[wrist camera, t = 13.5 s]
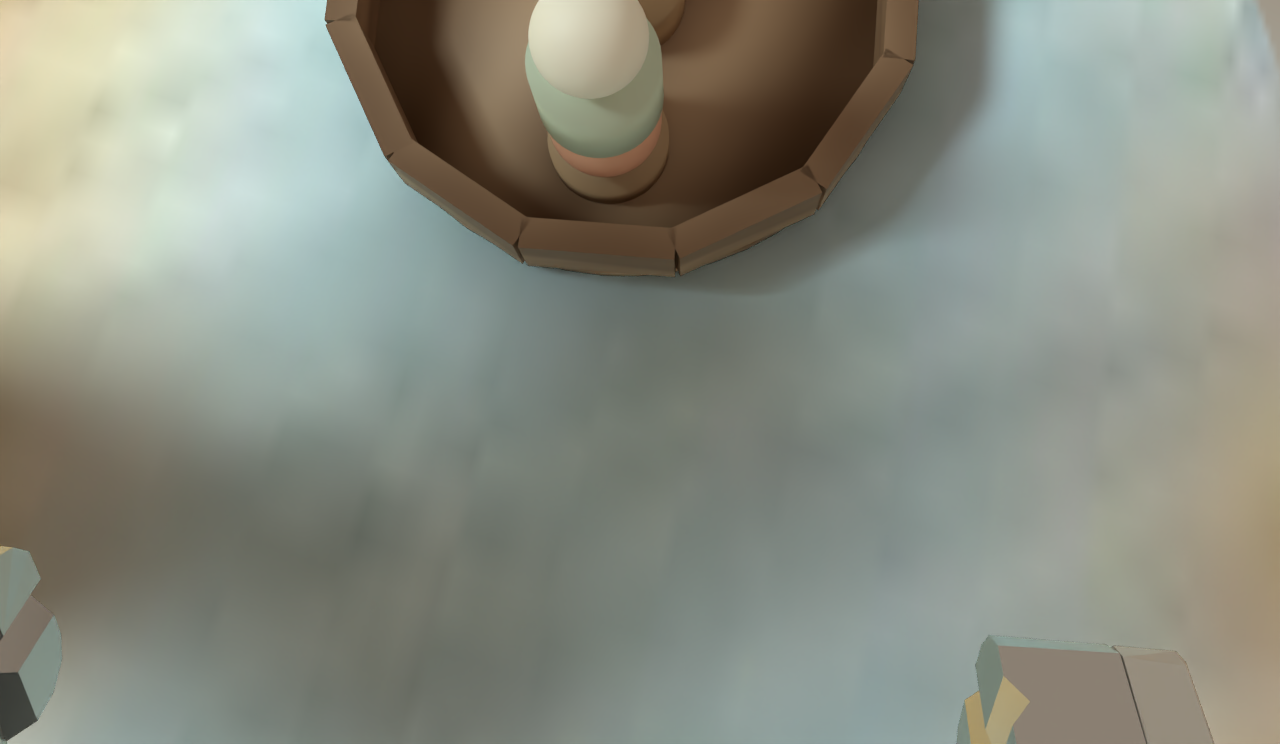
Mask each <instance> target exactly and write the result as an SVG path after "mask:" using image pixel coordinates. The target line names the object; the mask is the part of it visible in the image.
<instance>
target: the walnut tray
mask: <svg viewBox="0 0 1280 744" xmlns="http://www.w3.org/2000/svg"><path fill="white" fill-rule="evenodd" d="M538 1H539V0H327V6H326V13H325V21H326V22H327V24H326V27H327V30H328V32H329V34H330V36H331V39H332V41H333V43H334V45H335V47H336V50H337V52H338V54H339V56H340V59H341V61H342V63H343V65H344V67H345V70H346V72H347V74H348V76H349V79H350V81H351V83H352V85H353V87H354V90H355V92H356V94H357V96H358V99H359V101H360V103H361V105H362V107H363V110H364V112H365V114H366V116H367V119H368V121H369V123H370V125H371V127H372V130H373V132H374V134H375V136H376V139H377V141H378V143H379V145H380V147H381V150H382V152H383V154H384V156H385V158H386V159H387V160H388V162H389V163H390V164H391V166H392V167H393V168H394V170H395V171H396V172H397V174H398V175H399V176H400V178H401V179H402V180H403V181H404V182H405V184H407V185H408V186H410V187H411V188H413V189H414V190H416V191H417V192H419V193H420V194H421V195H423V196H424V197H426V198H427V199H429V200H430V201H432V202H433V203H435V204H436V205H438V206H439V207H440V208H442V209H443V210H444V211H446V212H447V213H448V214H450V215H451V216H452V217H453V218H455V219H456V220H457V221H458V222H460V223H461V224H462V225H463V226H465V227H466V228H467V229H469V230H471V231H473V232H474V233H476V234H478V235H479V236H481V237H483V238H484V239H486V240H488V241H489V242H491V243H493V244H494V245H496V246H497V247H499V248H500V249H502V250H503V251H505V252H506V253H508V254H509V255H511V256H512V257H513V258H515V259H516V260H518V261H519V262H521V263H522V264H523V263H524V261H526V263H527V265H528V266H539V267H552V268H560V269H563V270H568V271H575V272H582V273H589V274H596V275H608V276H643V275H655V276H668V277H675V272H677V271H678V272H679V274H680V276H682V275H684V274H686V273H688V272H690V271H692V270H695V269H697V268H699V267H701V266H703V265H705V264H709V263H713V262H715V261H718V260H721V259H723V258H726V257H728V256H731V255H734V254H736V253H739V252H741V251H744V250H746V249H748V248H750V247H752V246H754V245H756V244H757V243H759V242H761V241H763V240H765V239H767V238H768V237H770V236H772V235H774V234H776V233H778V232H779V231H781V230H782V229H783V228H785V227H787V226H789V225H791V224H794V223H796V222H798V221H800V220H802V219H804V218H807V217H809V216H811V215H813V214H814V213H815V211H816V209H817V210H819V209H820V208H821V206H822V205H823V203H824V202H825V200H826V199H827V198H828V196H829V195H830V193H831V192H832V190H833V189H834V188H835V186H836V185H837V183H838V182H839V180H840V179H841V178H842V176H843V175H844V173H845V172H846V171H847V169H848V168H849V167H850V166H851V164H852V163H853V162H854V161H855V159H856V158H857V157H858V155H859V154H860V152H861V150H862V149H863V147H864V145H865V144H866V142H867V140H868V139H869V137H870V136H871V135H872V133H873V132H874V130H875V129H876V127H877V126H878V125H879V123H880V122H881V120H882V119H883V117H884V116H885V115H886V113H887V112H888V110H889V109H890V107H891V106H892V105H893V103H894V102H895V100H896V99H897V97H898V96H899V95H900V93H901V91H902V89H903V86H904V84H905V82H906V80H907V78H908V76H909V74H910V71H911V69H912V67H913V64H914V61H915V55H916V38H917V20H918V3H919V0H638V2H639V3H640V5H641V7H642V8H643V11H644V13H645V15H646V18H647V19H648V21H649V22H650V23H651V25H652V26H653V28H654V30H655V32H656V34H657V37H658V39H659V43H660V46H661V54H662V70H663V88H664V102H663V109H662V110H663V112H664V114H665V116H666V119H667V123H668V129H669V156H668V161H667V164H666V167H665V169H664V171H663V173H662V175H661V176H660V178H659V179H658V181H657V182H656V183H655V184H654V185H653V186H652V187H651V188H650V189H649V190H648V191H646V192H645V193H644V194H642V195H641V196H639V197H637V198H635V199H632V200H630V201H627V202H623V203H618V204H601V203H595V202H592V201H588V200H586V199H584V198H582V197H580V196H578V195H576V194H575V193H574V192H572V191H571V190H570V189H569V188H568V187H567V186H566V185H565V184H564V183H563V182H562V180H561V179H560V178H559V176H558V174H557V172H556V170H555V167H554V165H553V162H552V159H551V156H550V153H549V149H548V141H547V137H548V131H547V130H546V128H545V126H544V125H543V122H542V120H541V117H540V115H539V112H538V109H537V106H536V103H535V100H534V97H533V94H532V91H531V88H530V85H529V82H528V79H527V75H526V69H525V54H526V48H527V45H528V41H529V40H528V30H529V24H530V19H531V16H532V13H533V10H534V8H535V6H536V4H537V3H538Z"/></svg>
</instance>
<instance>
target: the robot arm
mask: <svg viewBox="0 0 1280 744" xmlns="http://www.w3.org/2000/svg"><path fill="white" fill-rule="evenodd" d="M40 579H41V578H40V575H39V573H38V571H37V568H36V566H35V564H34V561H33V559H32V557H31V554H30V552H29V551H26V550H22V549H18V548H13V547H5V546H0V744H7V741H8V740H9V739H11V738H12V737H14V736H15V735H17V734H18V733H20V732H21V731H23V730H24V729H26V728H27V727H29V726H30V725H32V724H33V723H35V722H36V721H38V719H39V717H40V715H41V714H42V712H43V710H44V708H45V707H46V705H47V703H48V701H49V699H50V698H51V696H52V694H53V692H54V689H55V685H56V681H57V677H58V673H59V669H60V665H61V661H62V646H61V633H60V630H59V627H58V624H57V621H56V618H55V616H54V614H53V613H52V612H51V611H49V610H48V609H47V608H46V607H45V606H43V605H42V604H41V603H40V602H39V601H37V600H36V599H35V598H34V597H33V596H31V595H30V594H31V593H32V591H33V590H34V588H35V587H36V585H37V584H38V582H39V581H40ZM975 667H976V673H977V680H978V686H979V691H978V692H976V693H975V694H973V695H972V696H970V697H969V698H967V699H966V700H965V701H964V705H963V709H962V713H961V716H960V720H959V724H958V730H957V741H956V744H1214V741H1213V738H1212V735H1211V732H1210V729H1209V727H1208V724H1207V721H1206V718H1205V715H1204V712H1203V710H1202V707H1201V704H1200V701H1199V698H1198V695H1197V693H1196V690H1195V687H1194V684H1193V681H1192V678H1191V675H1190V673H1189V670H1188V667H1187V664H1186V662H1185V660H1184V659H1183V658H1182V657H1181V656H1180V655H1179V654H1178V653H1177V652H1176V651H1169V650H1158V649H1146V648H1135V647H1123V646H1111V647H1109V646H1108V645H1106V644H1094V643H1081V642H1069V641H1056V640H1044V639H1031V638H1019V637H1006V636H994V635H989V636H988V637H987V638H986V640H985V641H984V642H983V644H982V646H981V649H980V652H979V655H978V658H977V661H976V664H975Z"/></svg>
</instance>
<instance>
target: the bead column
mask: <svg viewBox="0 0 1280 744" xmlns="http://www.w3.org/2000/svg"><path fill="white" fill-rule="evenodd" d="M528 40H529V41H528V45H527V48H526V54H525V69H526V75H527V79H528V82H529V85H530V88H531V91H532V94H533V97H534V100H535V103H536V106H537V109H538V112H539V115H540V117H541V120H542V122H543V125H544V126H545V128H546V130H547V131H548V137H547V141H548V149H549V153H550V156H551V159H552V162H553V165H554V167H555V170H556V172H557V174H558V176H559V178H560V179H561V180H562V182H563V183H564V184H565V185H566V186H567V187H568V188H569V189H570V190H571V191H572V192H574V193H575V194H576V195H578V196H580V197H582V198H584V199H586V200H588V201H592V202H595V203H601V204H618V203H623V202H627V201H630V200H632V199H635V198H637V197H639V196H641V195H642V194H644V193H645V192H646V191H648V190H649V189H650V188H651V187H652V186H653V185H654V184H655V183H656V182H657V181H658V179H659V178H660V176H661V175H662V173H663V171H664V169H665V167H666V164H667V161H668V156H669V129H668V123H667V119H666V116H665V114H664V112H663V110H662V109H663V102H664V88H663V70H662V54H661V46H660V43H659V39H658V37H657V34H656V32H655V30H654V28H653V26H652V25H651V23H650V22H649V21H648V19H647V18H646V15H645V13H644V11H643V8H642V7H641V5H640V3H639V2H638V0H539V1H538V3H537V4H536V6H535V8H534V10H533V13H532V16H531V19H530V24H529V30H528Z"/></svg>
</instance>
